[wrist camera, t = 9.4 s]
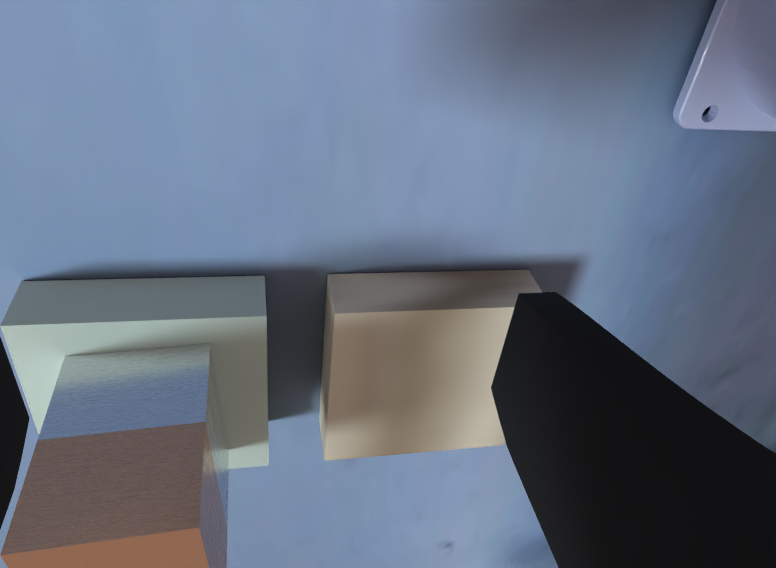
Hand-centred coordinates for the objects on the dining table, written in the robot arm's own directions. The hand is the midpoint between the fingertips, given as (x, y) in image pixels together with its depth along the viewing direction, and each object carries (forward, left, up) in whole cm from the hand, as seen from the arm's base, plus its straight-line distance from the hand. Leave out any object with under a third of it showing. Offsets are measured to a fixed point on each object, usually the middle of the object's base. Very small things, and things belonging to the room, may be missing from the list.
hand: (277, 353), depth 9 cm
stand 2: (-6, +9, -9) cm, 14 cm away
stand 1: (+4, +9, -9) cm, 13 cm away
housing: (+4, +9, -7) cm, 12 cm away
